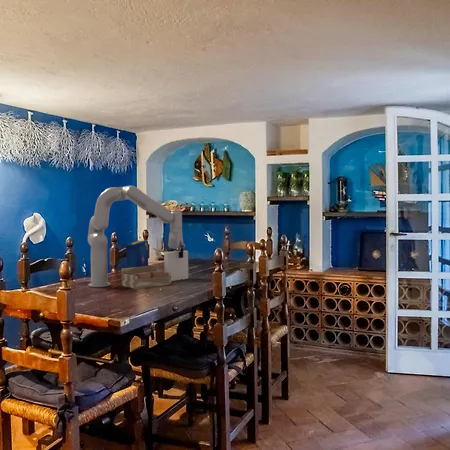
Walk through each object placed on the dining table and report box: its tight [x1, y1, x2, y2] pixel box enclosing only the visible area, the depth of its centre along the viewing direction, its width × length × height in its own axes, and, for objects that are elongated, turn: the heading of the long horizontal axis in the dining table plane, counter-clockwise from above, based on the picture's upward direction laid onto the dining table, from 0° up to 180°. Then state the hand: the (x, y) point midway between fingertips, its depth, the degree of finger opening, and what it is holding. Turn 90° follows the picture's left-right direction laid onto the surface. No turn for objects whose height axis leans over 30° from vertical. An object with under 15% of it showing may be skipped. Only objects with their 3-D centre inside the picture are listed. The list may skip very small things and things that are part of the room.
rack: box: [120, 264, 172, 290], centre depth 296 cm, size 17×24×10 cm
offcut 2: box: [150, 270, 165, 278], centre depth 297 cm, size 4×8×8 cm, turn 132°
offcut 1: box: [135, 272, 151, 280], centre depth 290 cm, size 4×8×8 cm, turn 132°
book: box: [125, 239, 149, 268], centre depth 313 cm, size 22×7×25 cm, turn 168°
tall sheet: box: [163, 250, 189, 282], centre depth 315 cm, size 4×16×18 cm, turn 132°
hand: (176, 257), depth 315 cm, fingers open, 9 cm apart
